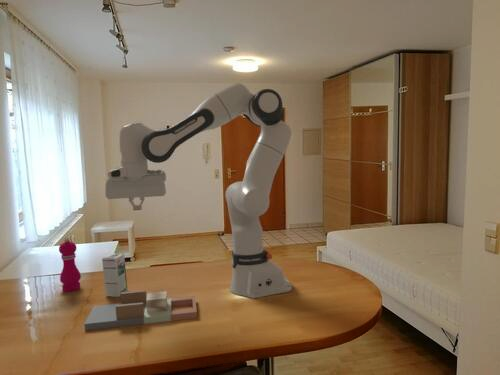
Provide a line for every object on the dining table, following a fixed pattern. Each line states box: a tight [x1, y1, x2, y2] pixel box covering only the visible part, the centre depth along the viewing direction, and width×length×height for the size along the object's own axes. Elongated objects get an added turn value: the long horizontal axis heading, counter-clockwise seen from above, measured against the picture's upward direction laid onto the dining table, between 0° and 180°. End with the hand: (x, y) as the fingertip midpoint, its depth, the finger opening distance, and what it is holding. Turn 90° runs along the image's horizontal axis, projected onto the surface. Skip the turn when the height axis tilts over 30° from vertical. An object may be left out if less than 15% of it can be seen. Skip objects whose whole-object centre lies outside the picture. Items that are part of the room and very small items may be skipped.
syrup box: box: [101, 252, 129, 298], centre depth 145 cm, size 6×6×14 cm
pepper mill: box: [58, 237, 82, 293], centre depth 151 cm, size 7×7×20 cm
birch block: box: [146, 290, 168, 313], centre depth 127 cm, size 6×6×4 cm
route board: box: [84, 289, 198, 331], centre depth 127 cm, size 33×13×6 cm, turn 100°
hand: (137, 210), depth 140 cm, fingers closed
